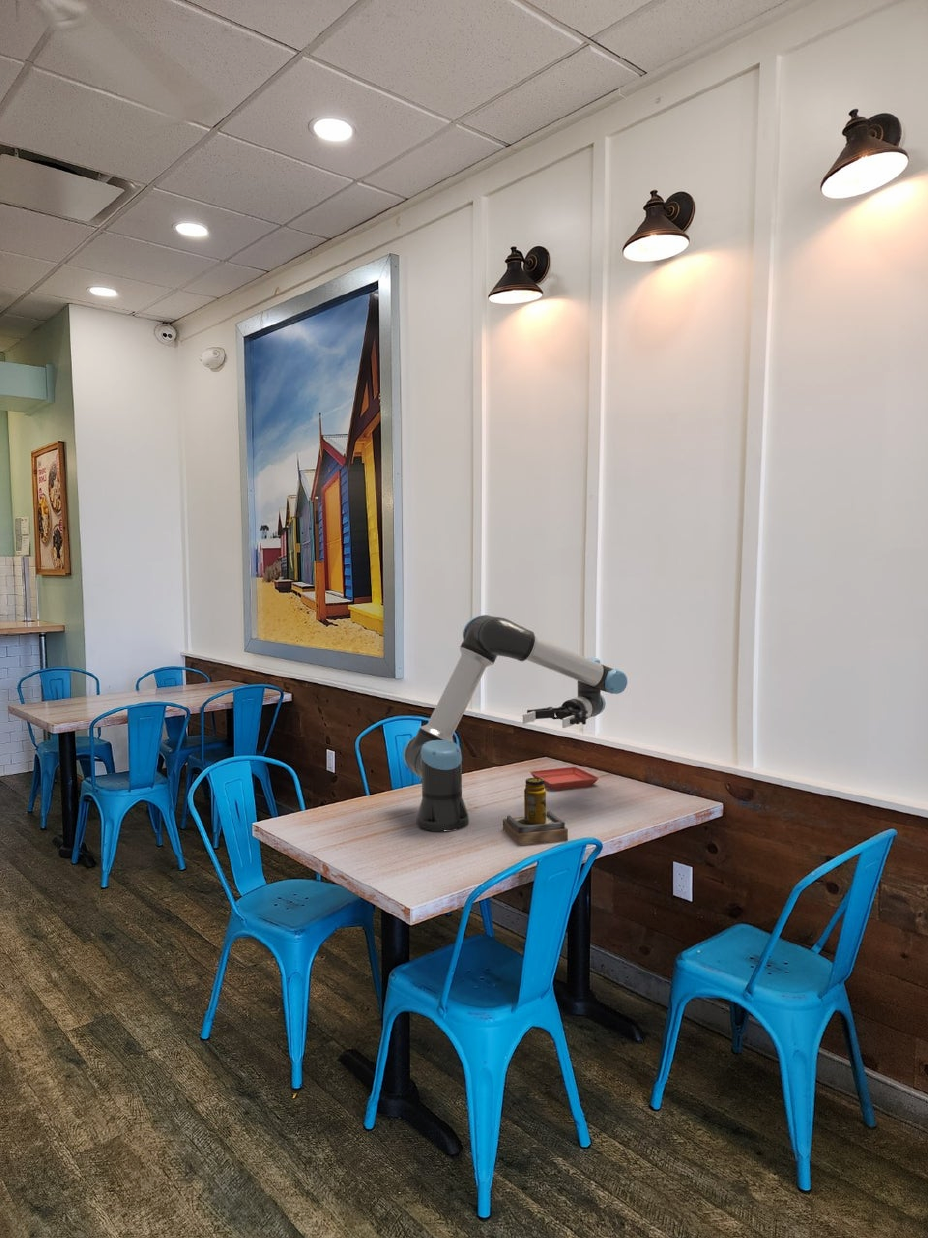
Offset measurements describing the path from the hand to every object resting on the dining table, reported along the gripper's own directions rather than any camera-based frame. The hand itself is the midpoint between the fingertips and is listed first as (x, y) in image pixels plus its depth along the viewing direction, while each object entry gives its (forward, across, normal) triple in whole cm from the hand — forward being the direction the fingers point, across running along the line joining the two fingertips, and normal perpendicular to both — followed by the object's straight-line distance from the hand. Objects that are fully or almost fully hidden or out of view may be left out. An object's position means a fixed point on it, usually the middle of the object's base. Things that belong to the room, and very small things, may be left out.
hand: (543, 721), depth 240 cm
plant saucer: (-34, +11, -29) cm, 46 cm away
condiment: (+18, -6, -25) cm, 32 cm away
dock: (+18, -7, -28) cm, 34 cm away
